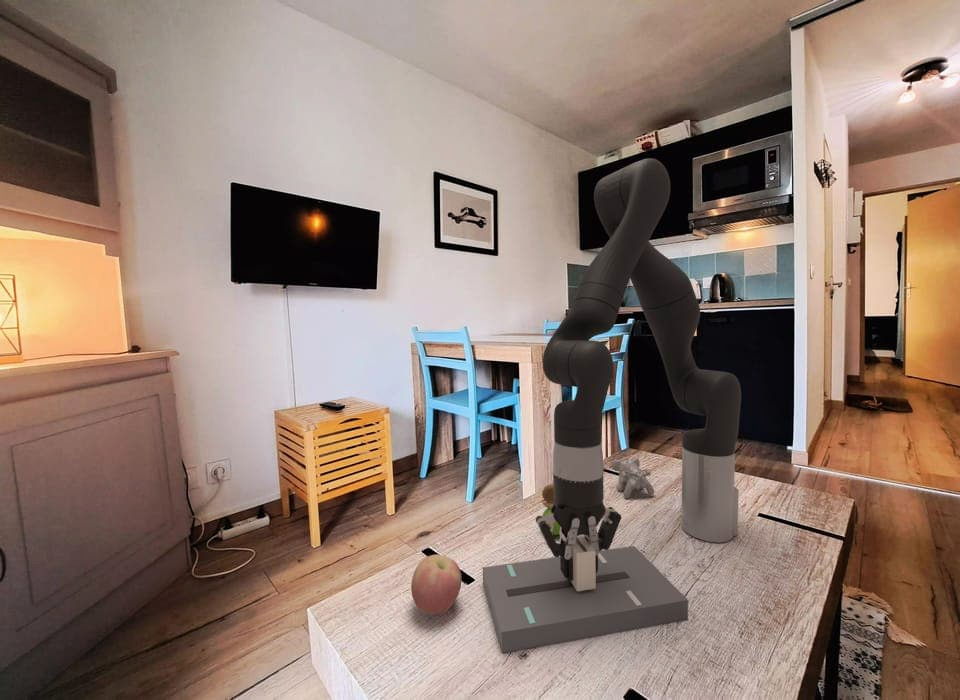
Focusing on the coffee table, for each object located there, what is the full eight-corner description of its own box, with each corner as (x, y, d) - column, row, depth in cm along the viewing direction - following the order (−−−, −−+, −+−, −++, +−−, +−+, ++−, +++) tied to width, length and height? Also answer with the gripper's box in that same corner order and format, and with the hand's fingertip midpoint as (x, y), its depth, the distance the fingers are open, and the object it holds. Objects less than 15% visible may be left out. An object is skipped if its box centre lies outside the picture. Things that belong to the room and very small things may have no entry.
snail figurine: (573, 542, 78) (573, 483, 77) (541, 539, 79) (540, 481, 78) (572, 527, 83) (572, 472, 82) (542, 525, 84) (541, 471, 83)
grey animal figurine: (633, 504, 93) (633, 472, 92) (598, 485, 104) (598, 457, 103) (661, 495, 96) (661, 465, 96) (624, 478, 107) (624, 451, 107)
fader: (581, 568, 64) (581, 532, 64) (595, 588, 59) (595, 549, 59) (564, 570, 64) (563, 534, 63) (577, 591, 59) (576, 552, 58)
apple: (441, 636, 55) (439, 583, 55) (401, 616, 59) (399, 566, 59) (471, 601, 62) (470, 553, 61) (434, 585, 66) (432, 540, 66)
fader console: (634, 561, 71) (634, 545, 71) (687, 619, 57) (688, 599, 57) (483, 584, 66) (482, 566, 66) (502, 653, 52) (501, 631, 52)
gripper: (608, 456, 65) (608, 555, 66) (526, 464, 62) (529, 567, 64) (633, 474, 58) (633, 585, 59) (542, 484, 55) (544, 599, 56)
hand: (579, 575), depth 61 cm, fingers closed on fader, 3 cm apart
